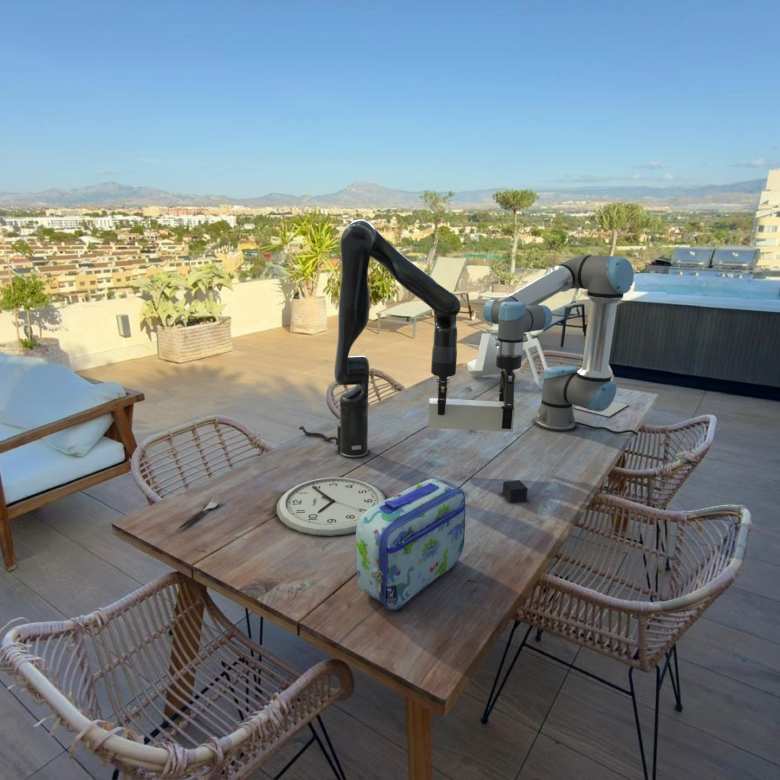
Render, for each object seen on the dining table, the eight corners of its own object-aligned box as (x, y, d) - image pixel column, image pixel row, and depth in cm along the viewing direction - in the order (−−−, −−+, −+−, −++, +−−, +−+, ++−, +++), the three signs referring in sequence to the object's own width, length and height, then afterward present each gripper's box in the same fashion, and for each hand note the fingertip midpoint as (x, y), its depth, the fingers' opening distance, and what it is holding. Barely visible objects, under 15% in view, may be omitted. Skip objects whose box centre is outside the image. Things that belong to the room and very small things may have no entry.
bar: (510, 426, 165) (513, 402, 163) (512, 432, 160) (515, 407, 158) (428, 421, 168) (429, 398, 165) (427, 427, 163) (429, 403, 160)
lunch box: (385, 624, 100) (387, 528, 94) (349, 596, 108) (348, 506, 101) (468, 566, 118) (474, 482, 112) (432, 545, 125) (436, 466, 119)
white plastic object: (487, 418, 267) (468, 395, 242) (469, 346, 289) (449, 318, 264) (558, 394, 255) (545, 368, 230) (533, 321, 277) (518, 289, 252)
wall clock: (392, 527, 129) (268, 531, 127) (391, 533, 130) (269, 537, 127) (383, 473, 158) (282, 475, 155) (383, 478, 158) (282, 480, 156)
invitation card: (608, 416, 214) (573, 407, 224) (608, 416, 214) (573, 408, 224) (628, 404, 229) (594, 396, 238) (628, 405, 229) (594, 397, 238)
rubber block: (518, 492, 152) (519, 479, 150) (526, 500, 147) (527, 488, 146) (502, 494, 151) (503, 481, 149) (509, 502, 146) (511, 489, 145)
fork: (174, 529, 130) (174, 521, 130) (216, 499, 144) (215, 492, 144) (183, 531, 129) (182, 524, 129) (223, 501, 144) (223, 494, 143)
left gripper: (432, 352, 165) (429, 403, 170) (431, 364, 152) (428, 419, 157) (456, 353, 165) (452, 404, 170) (457, 365, 151) (453, 420, 156)
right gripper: (493, 344, 169) (489, 406, 175) (499, 364, 145) (495, 435, 152) (517, 345, 168) (512, 407, 175) (527, 365, 144) (521, 436, 151)
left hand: (441, 411), depth 163 cm, fingers closed on bar, 5 cm apart
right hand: (504, 420), depth 163 cm, fingers open, 13 cm apart
